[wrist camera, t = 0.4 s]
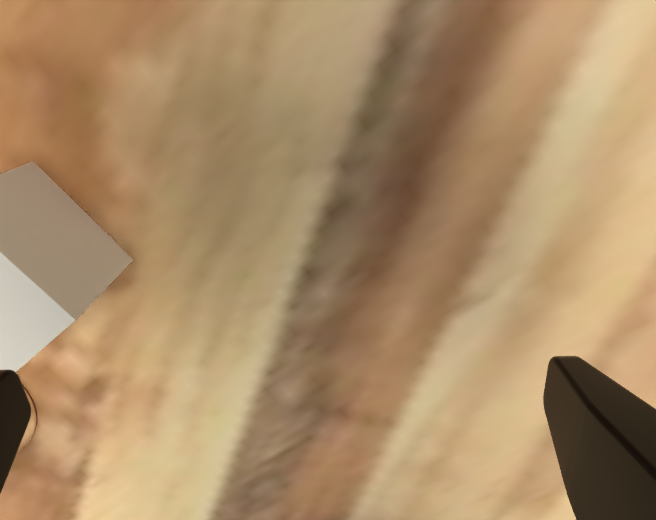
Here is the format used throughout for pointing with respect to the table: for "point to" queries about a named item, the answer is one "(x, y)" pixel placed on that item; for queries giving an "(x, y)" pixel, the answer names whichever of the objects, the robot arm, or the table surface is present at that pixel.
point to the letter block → (46, 263)
